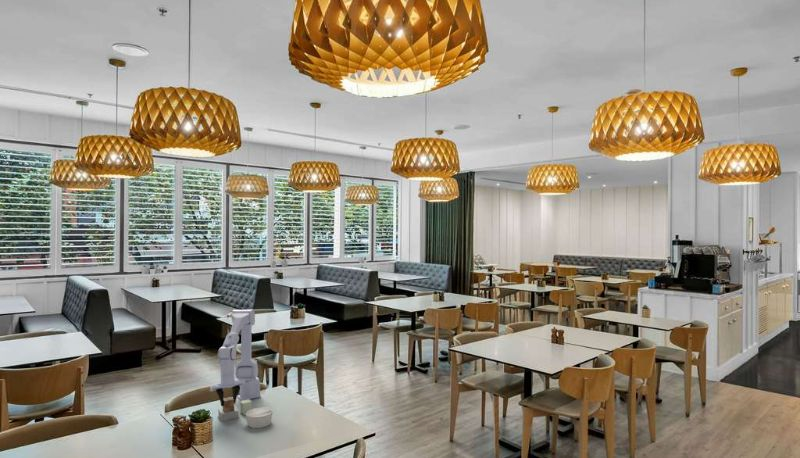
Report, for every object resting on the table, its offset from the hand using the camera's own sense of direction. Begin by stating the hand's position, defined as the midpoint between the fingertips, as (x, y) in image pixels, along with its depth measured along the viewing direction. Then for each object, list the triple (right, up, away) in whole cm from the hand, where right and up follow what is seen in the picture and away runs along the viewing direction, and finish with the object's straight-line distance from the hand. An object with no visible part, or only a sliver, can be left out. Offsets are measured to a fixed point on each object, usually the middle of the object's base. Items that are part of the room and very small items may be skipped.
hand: (228, 404), depth 218 cm
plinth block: (0, -6, 0) cm, 6 cm away
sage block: (+6, -6, +5) cm, 10 cm away
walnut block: (0, -3, 0) cm, 3 cm away
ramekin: (+16, -6, -9) cm, 19 cm away
